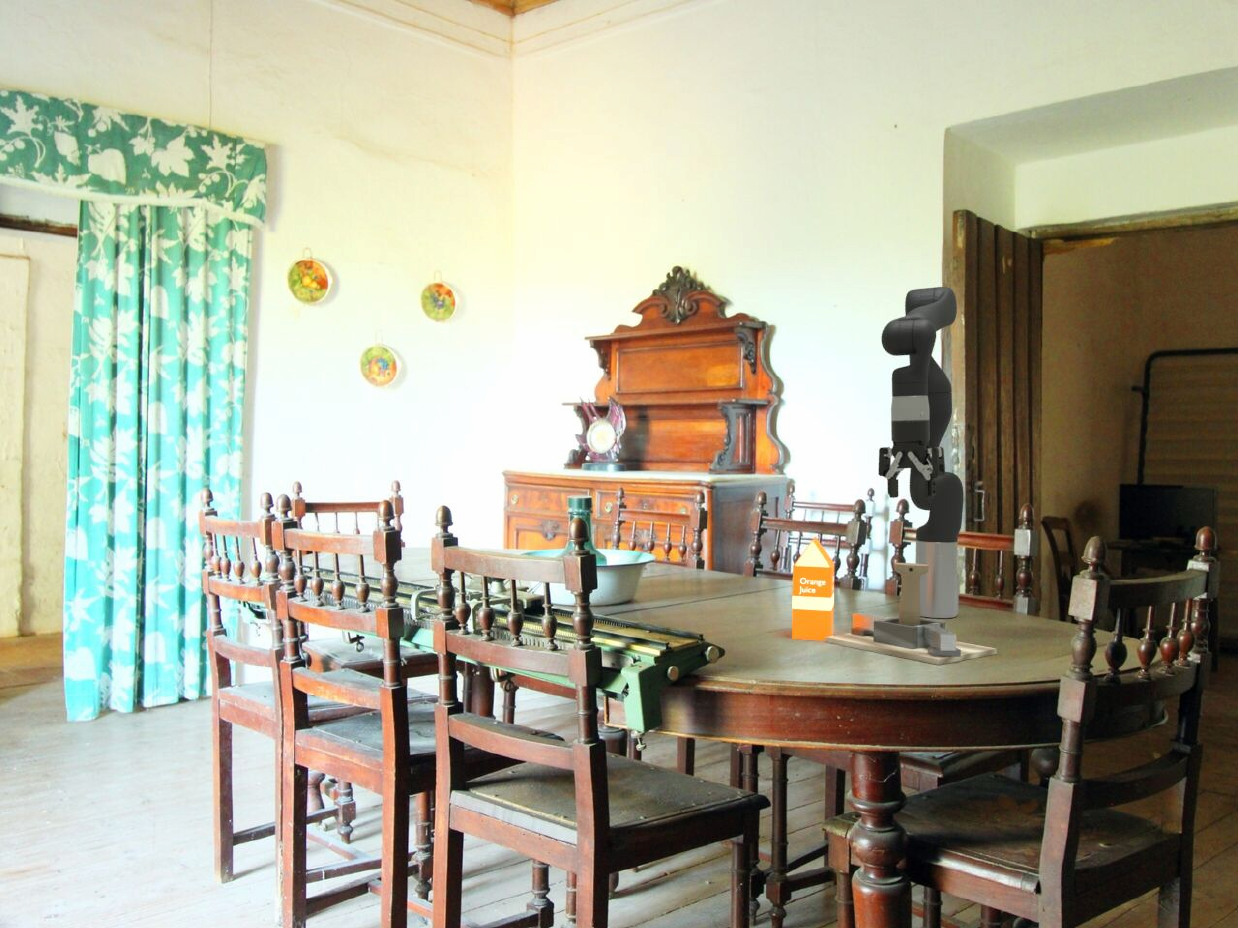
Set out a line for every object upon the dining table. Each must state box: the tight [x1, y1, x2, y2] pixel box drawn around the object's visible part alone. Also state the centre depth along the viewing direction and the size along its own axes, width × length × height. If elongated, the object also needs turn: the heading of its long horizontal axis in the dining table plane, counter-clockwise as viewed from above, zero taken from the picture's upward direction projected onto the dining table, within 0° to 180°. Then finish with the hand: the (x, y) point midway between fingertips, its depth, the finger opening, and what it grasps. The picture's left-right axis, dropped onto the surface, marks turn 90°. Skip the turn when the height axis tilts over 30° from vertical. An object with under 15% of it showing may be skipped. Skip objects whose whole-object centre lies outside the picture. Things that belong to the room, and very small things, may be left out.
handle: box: [893, 562, 929, 627], centre depth 198 cm, size 5×6×15 cm
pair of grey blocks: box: [850, 612, 961, 657], centre depth 196 cm, size 10×26×4 cm, turn 38°
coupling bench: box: [825, 616, 998, 666], centre depth 198 cm, size 18×26×5 cm
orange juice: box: [791, 536, 835, 642], centre depth 209 cm, size 8×9×20 cm
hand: (911, 498), depth 211 cm, fingers open, 8 cm apart
